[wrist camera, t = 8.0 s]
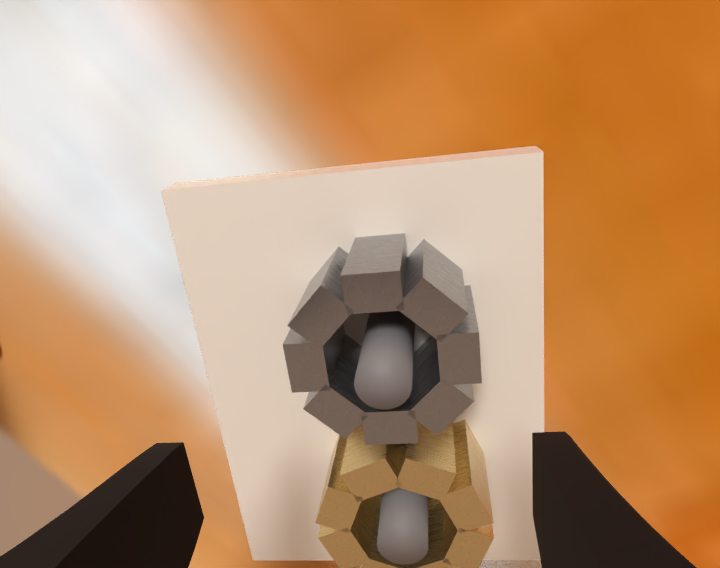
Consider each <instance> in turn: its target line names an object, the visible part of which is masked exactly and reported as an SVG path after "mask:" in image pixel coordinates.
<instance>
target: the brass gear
mask: <svg viewBox="0 0 720 568" xmlns="http://www.w3.org/2000/svg"><path fill="white" fill-rule="evenodd" d="M396 488H402V489H405V490H408V491H411V492H414V493H418V494H421V495H424V496H427V497H428V552H427V554H426V555H425V557H424V558H423V559H422V560H420V561H418V562H416V563H413V564H408V565H402V564H396V563H393V562H391V561H389V560H387V559H385V558H384V557H383V556H382V555H381V554H380V552H379V550H378V548H377V537H378V527H379V517H380V508H381V498H382V493H385V492H388V491H390V490H393V489H396ZM315 523H316V524H319V525H321V526H320V531H319V535H318V539H319V540H320V542H321V543H322V544H323V546H324V547H325V549H326V550H327V551H328V553H329V554H330V556H331V557H332V559H333V560H334V561H335V563H336V564H337V566H338V567H339V568H354V567H357V566H358V568H479V566H480V564H481V562H482V560H483V558H484V556H485V555H486V553H487V551H488V549H489V547H490V545H491V543H492V541H493V539H494V534H493V527H492V523H493V516H492V508H491V501H490V494H489V487H488V480H487V473H486V466H485V459H484V452H483V450H482V449H481V447H480V445H479V443H478V441H477V440H476V438H475V436H474V434H473V433H472V431H471V429H470V427H469V425H468V424H467V422H466V420H465V419H464V420H461V421H459V422H456V423H453V422H452V423H450V424H449V425H448V426H447V427H446V428H445V429H444V430H443V431H442V432H441V433H440V434H439V435H438V436H437V435H436V434H434V433H433V432H432V431H430V430H429V429H428V428H426V427H425V426H423V425H422V424H421V423H419V440H418V443H407V444H378V445H365V439H364V432H363V426H362V423H361V424H360V425H359V426H358V427H357V428H356V429H355V430H354V431H353V432H352V433H351V434H350V435H349V436H348V437H347V438H346V439H345V438H343V437H342V436H340V435H338V438H337V441H336V444H335V446H334V449H333V452H332V455H331V460H330V464H329V468H328V472H327V476H326V480H325V485H324V489H323V493H322V497H321V501H320V506H319V510H318V514H317V518H316V522H315Z"/></svg>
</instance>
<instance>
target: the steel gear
mask: <svg viewBox="0 0 720 568" xmlns="http://www.w3.org/2000/svg"><path fill="white" fill-rule="evenodd" d="M388 311H400V312H401V313H403V314H404V315H405V316H407V317H408V318H409V319H411V320H412V321H413V322H415V323H416V324H417V325H418V326H420V327H421V328H422V329H424V330H425V331H426V332H428V333H429V334H430V335H431V336H430V337H429V338H428V339H427V340H426V341H425V342H424V343H423V344H422V345H421V346H420V347H419V348H418V349H417V350H416V351H415V352H414V358H413V380H412V391H411V394H410V396H409V398H408V399H407V400H406V402H404V403H403V404H402V405H400V406H398V407H396V408H393V409H387V410H382V409H376V408H373V407H371V406H369V405H367V404H365V403H364V402H363V401H362V400H361V399H360V398H359V397H358V395H357V393H356V391H355V387H354V379H355V374H356V370H357V366H358V361H359V357H360V352H361V348H362V346H361V345H359V344H358V343H357V342H355V341H354V340H353V339H351V338H350V337H349V336H347V335H346V334H345V330H344V322H345V320H346V319H347V318H348V317H349V316H350V315H351V314H360V313H374V312H388ZM287 326H288V327H290V328H291V329H290V331H289V333H288V335H287V337H286V339H285V341H284V343H283V350H284V355H285V360H286V365H287V370H288V375H289V380H290V385H291V390H292V393H296V392H309V393H308V396H307V399H306V402H305V405H304V408H303V409H304V410H305V411H307V412H308V413H309V414H311V415H312V416H314V417H315V418H316V419H318V420H319V421H321V422H322V423H324V424H325V425H326V426H328V427H329V428H331V429H332V430H333V431H335V432H336V433H338V434H339V435H340V436H342V437H343V438H345V439H346V438H347V437H348V436H349V435H350V434H351V433H352V432H353V431H354V430H355V429H356V428H357V427H358V426H359V425H360V424H361V423H362V426H363V432H364V439H365V445H378V444H407V443H418V440H419V423H421V424H422V425H423V426H425V427H426V428H428V429H429V430H430V431H432V432H433V433H434V434H436V435H437V436H438V435H439V434H440V433H441V432H442V431H443V430H444V429H445V428H446V427H447V426H448V425H449V424H450V423H452V422H453V421H454V420H455V419H456V418H457V417H458V416H459V415H460V414H461V413H462V412H463V411H464V410H466V409H467V408H468V407H469V406H470V405H471V404H472V403H473V402H474V395H473V388H472V384H479V383H482V376H481V358H480V340H479V329H478V324H477V318H476V313H475V308H474V302H473V297H472V291H471V286H470V285H466V286H464V280H463V273H462V269H461V268H460V267H459V266H457V265H456V264H455V263H453V262H452V261H451V260H450V259H448V258H447V257H446V256H445V255H443V254H442V253H441V252H440V251H438V250H437V249H436V248H435V247H433V246H432V245H431V244H430V243H428V242H427V241H426V240H425V239H423V240H422V241H421V242H420V243H419V245H418V246H417V247H416V248H415V249H414V250H413V251H412V253H411V254H410V255H409V256H408V257H407V250H406V240H405V233H401V234H390V235H379V236H367V237H356V238H355V239H354V242H353V245H352V247H351V250H350V252H349V254H348V253H347V252H346V251H344V250H343V249H342V248H340V247H339V246H338V248H337V249H336V250H335V251H334V253H333V254H332V255H331V256H330V257H329V259H328V260H327V261H326V262H325V264H324V265H323V266H322V267H321V268H320V270H319V271H318V272H317V273H316V275H315V276H314V277H313V278H312V280H311V281H310V283H309V284H308V286H307V288H306V290H305V292H304V294H303V296H302V298H301V300H300V302H299V304H298V306H297V308H296V310H295V312H294V313H293V315H292V317H291V319H290V321H289V323H288V325H287Z"/></svg>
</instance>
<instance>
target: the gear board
mask: <svg viewBox="0 0 720 568" xmlns="http://www.w3.org/2000/svg"><path fill="white" fill-rule="evenodd" d="M161 193H162V197H163V201H164V205H165V209H166V213H167V217H168V221H169V225H170V229H171V233H172V237H173V241H174V245H175V249H176V253H177V257H178V261H179V265H180V269H181V273H182V277H183V281H184V285H185V289H186V293H187V297H188V301H189V305H190V309H191V313H192V317H193V321H194V325H195V329H196V333H197V337H198V341H199V345H200V349H201V353H202V357H203V361H204V365H205V369H206V374H207V378H208V382H209V386H210V390H211V394H212V398H213V402H214V406H215V410H216V414H217V418H218V422H219V426H220V430H221V434H222V438H223V442H224V446H225V450H226V454H227V458H228V462H229V466H230V470H231V474H232V478H233V482H234V486H235V490H236V494H237V498H238V502H239V506H240V510H241V514H242V518H243V522H244V526H245V530H246V534H247V538H248V542H249V546H250V550H251V554H252V558H253V561H334V560H333V559H332V557H331V556H330V554H329V553H328V551H327V550H326V549H325V547H324V546H323V544H322V543H321V542H320V540H319V539H318V535H319V531H320V526H321V525H319V524H316V523H315V522H316V518H317V514H318V510H319V506H320V501H321V497H322V493H323V489H324V485H325V480H326V476H327V472H328V468H329V464H330V460H331V455H332V452H333V449H334V446H335V444H336V441H337V438H338V435H339V434H338V433H336V432H335V431H333V430H332V429H331V428H329V427H328V426H326V425H325V424H324V423H322V422H321V421H319V420H318V419H316V418H315V417H314V416H312V415H311V414H309V413H308V412H307V411H305V410H304V409H303V408H304V405H305V402H306V399H307V396H308V393H309V392H296V393H292V390H291V385H290V380H289V375H288V370H287V365H286V360H285V355H284V350H283V343H284V341H285V339H286V337H287V335H288V333H289V331H290V329H291V328H290V327H288V326H287V325H288V323H289V321H290V319H291V317H292V315H293V313H294V312H295V310H296V308H297V306H298V304H299V302H300V300H301V298H302V296H303V294H304V292H305V290H306V288H307V286H308V284H309V283H310V281H311V280H312V278H313V277H314V276H315V275H316V273H317V272H318V271H319V270H320V268H321V267H322V266H323V265H324V264H325V262H326V261H327V260H328V259H329V257H330V256H331V255H332V254H333V253H334V251H335V250H336V249H337V248H338V246H339V247H340V248H342V249H343V250H344V251H346V252H347V253H348V254H349V252H350V250H351V247H352V245H353V242H354V239H355V238H356V237H367V236H379V235H390V234H401V233H405V240H406V250H407V257H408V256H409V255H410V254H411V253H412V251H413V250H414V249H415V248H416V247H417V246H418V245H419V243H420V242H421V241H422V240H423V239H425V240H426V241H427V242H428V243H430V244H431V245H432V246H433V247H435V248H436V249H437V250H438V251H440V252H441V253H442V254H443V255H445V256H446V257H447V258H448V259H450V260H451V261H452V262H453V263H455V264H456V265H457V266H459V267H460V268H461V269H462V273H463V280H464V286H466V285H470V286H471V291H472V297H473V302H474V308H475V313H476V318H477V324H478V329H479V340H480V358H481V376H482V383H479V384H472V388H473V395H474V402H473V403H472V404H471V405H470V406H469V407H468V408H467V409H466V410H464V411H463V412H462V413H461V414H460V415H459V416H458V417H457V418H456V419H455V420H454V421H453V423H456V422H459V421H461V420H464V419H465V420H466V422H467V424H468V425H469V427H470V429H471V431H472V433H473V434H474V436H475V438H476V440H477V441H478V443H479V445H480V447H481V449H482V450H483V452H484V459H485V466H486V473H487V480H488V487H489V494H490V501H491V508H492V516H493V523H492V527H493V534H494V539H493V541H492V543H491V545H490V547H489V549H488V551H487V553H486V555H485V556H484V558H483V560H482V561H541V558H540V553H539V548H538V542H537V537H536V531H535V525H534V520H533V485H532V433H537V432H544V221H543V151H542V150H540V149H539V148H538V147H537V146H529V147H519V148H510V149H500V150H490V151H480V152H471V153H461V154H451V155H441V156H432V157H422V158H412V159H402V160H393V161H383V162H373V163H363V164H353V165H344V166H334V167H324V168H314V169H305V170H295V171H285V172H275V173H266V174H256V175H246V176H236V177H227V178H217V179H207V180H197V181H188V182H178V183H174V184H172V185H170V186H169V187H167V188H165V189H163V190H161ZM344 330H345V334H346V335H347V336H349V337H350V338H351V339H353V340H354V341H355V342H357V343H358V344H359V345H361V346H362V348H361V352H360V357H359V361H358V366H357V370H356V374H355V379H354V387H355V391H356V393H357V395H358V397H359V398H360V399H361V400H362V401H363V402H364V403H365V404H367V405H369V406H371V407H373V408H376V409H382V410H387V409H393V408H396V407H398V406H400V405H402V404H403V403H404V402H406V400H407V399H408V398H409V396H410V394H411V391H412V380H413V358H414V352H415V351H416V350H417V349H418V348H419V347H420V346H421V345H422V344H423V343H424V342H425V341H426V340H427V339H428V338H429V337H430V336H431V335H430V334H429V333H428V332H426V331H425V330H424V329H422V328H421V327H420V326H418V325H417V324H416V323H415V322H413V321H412V320H411V319H409V318H408V317H407V316H405V315H404V314H403V313H401V312H400V311H388V312H374V313H360V314H351V315H350V316H349V317H348V318H347V319H346V320H345V322H344ZM377 548H378V550H379V552H380V554H381V555H382V556H383V557H384V558H385V559H387V560H389V561H391V562H393V563H396V564H402V565H408V564H413V563H416V562H418V561H420V560H422V559H423V558H424V557H425V555H426V554H427V552H428V497H427V496H424V495H421V494H418V493H414V492H411V491H408V490H405V489H402V488H396V489H393V490H390V491H388V492H385V493H382V498H381V508H380V517H379V527H378V537H377Z"/></svg>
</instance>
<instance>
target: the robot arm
mask: <svg viewBox="0 0 720 568" xmlns="http://www.w3.org/2000/svg"><path fill="white" fill-rule="evenodd" d="M532 485H533V520H534V525H535V531H536V537H537V542H538V548H539V553H540V558H541V564H542V568H696V567H695V566H694V565H693V564H692V563H690V562H689V561H688V560H687V559H686V558H685V557H684V556H683V555H681V554H680V553H679V552H678V551H677V550H676V549H675V548H674V547H673V546H672V545H671V544H669V543H668V542H667V541H666V540H665V539H664V538H663V537H662V536H661V535H660V534H659V533H658V532H657V531H656V530H655V529H654V528H653V527H651V526H650V525H649V524H648V523H647V522H646V521H645V520H644V519H643V518H642V517H641V516H640V515H639V514H638V513H637V512H636V510H635V509H634V508H633V507H632V506H631V505H630V504H629V503H628V502H627V501H626V500H625V499H624V498H623V497H622V496H621V495H620V494H619V493H618V492H617V491H616V490H615V488H614V487H613V486H612V485H611V484H610V483H609V482H608V481H607V480H606V479H605V477H604V476H603V475H602V474H601V473H600V472H599V471H598V469H597V468H596V467H595V466H594V465H593V464H592V462H591V461H590V460H589V459H588V458H587V457H586V455H585V454H584V453H583V452H582V450H581V449H580V448H579V447H578V446H577V444H576V443H575V442H574V441H573V439H572V438H571V437H570V436H569V435H568V434H567V433H566V432H537V433H532ZM203 519H204V516H203V512H202V509H201V505H200V501H199V498H198V494H197V490H196V487H195V483H194V479H193V476H192V472H191V468H190V465H189V461H188V458H187V454H186V450H185V447H184V443H156V444H155V445H153V446H152V447H150V448H149V449H147V450H146V451H145V452H143V453H142V454H140V455H139V456H138V457H136V458H135V459H134V460H132V461H131V462H130V463H128V464H127V465H126V466H124V467H123V468H122V469H120V470H119V471H118V472H117V473H115V474H114V475H113V476H111V477H110V478H109V479H107V480H106V481H105V482H104V483H102V484H101V485H100V486H98V487H97V488H96V489H94V490H93V491H92V492H90V493H89V494H88V495H86V496H85V497H84V498H83V499H81V500H80V501H79V502H77V503H76V504H75V505H74V506H72V507H71V508H69V509H68V510H67V511H65V512H64V513H62V514H61V515H60V516H58V517H57V518H55V519H54V520H53V521H51V522H50V523H49V524H47V525H46V526H44V527H43V528H41V529H40V530H38V531H37V532H36V533H34V534H33V535H31V536H30V537H29V538H27V539H26V540H24V541H23V542H22V543H20V544H19V545H17V546H16V547H14V548H13V549H11V550H10V551H8V552H7V553H5V554H4V555H2V556H0V568H188V566H189V564H190V561H191V558H192V555H193V552H194V549H195V546H196V543H197V539H198V536H199V533H200V529H201V526H202V523H203Z"/></svg>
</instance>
